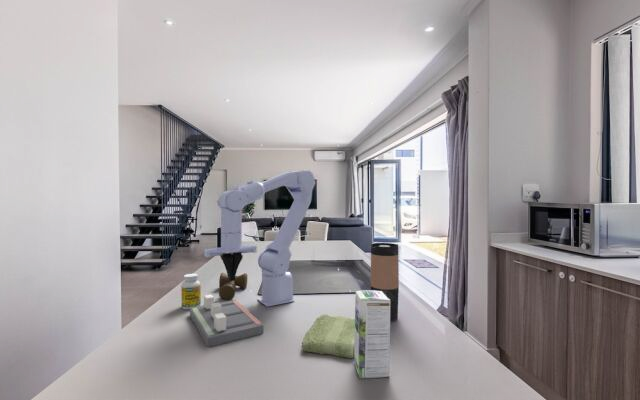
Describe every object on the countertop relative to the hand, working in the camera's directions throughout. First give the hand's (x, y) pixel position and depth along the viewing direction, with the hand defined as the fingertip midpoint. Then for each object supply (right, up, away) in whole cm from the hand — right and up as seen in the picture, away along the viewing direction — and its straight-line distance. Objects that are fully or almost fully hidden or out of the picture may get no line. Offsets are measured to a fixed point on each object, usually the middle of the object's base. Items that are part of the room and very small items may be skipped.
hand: (231, 279), depth 88 cm
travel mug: (+44, -10, -3) cm, 45 cm away
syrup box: (+35, -10, -30) cm, 47 cm away
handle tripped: (+2, -7, -16) cm, 18 cm away
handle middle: (-1, -7, -9) cm, 12 cm away
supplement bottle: (-13, -10, +4) cm, 17 cm away
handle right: (-6, -7, -2) cm, 9 cm away
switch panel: (0, -9, -8) cm, 12 cm away
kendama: (-6, -10, +20) cm, 23 cm away
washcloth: (+29, -10, -16) cm, 35 cm away
